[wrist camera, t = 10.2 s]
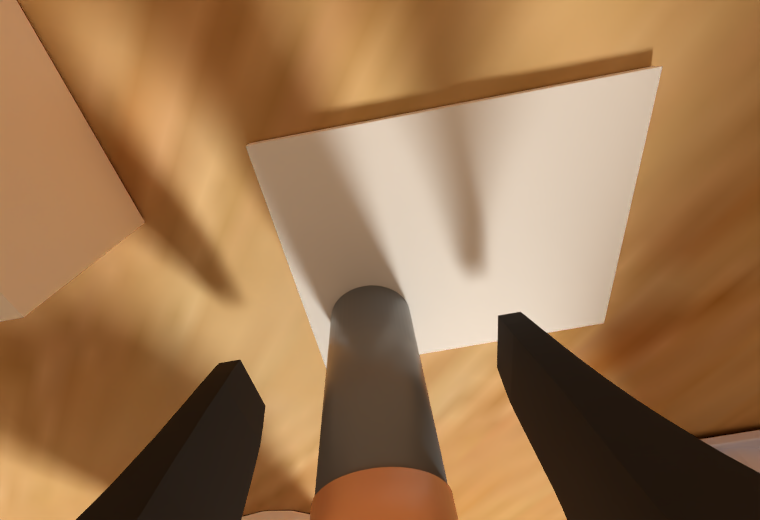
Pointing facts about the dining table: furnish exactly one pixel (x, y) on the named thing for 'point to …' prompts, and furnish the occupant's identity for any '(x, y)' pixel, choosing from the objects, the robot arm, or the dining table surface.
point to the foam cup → (277, 516)
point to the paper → (466, 207)
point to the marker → (377, 418)
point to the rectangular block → (48, 177)
